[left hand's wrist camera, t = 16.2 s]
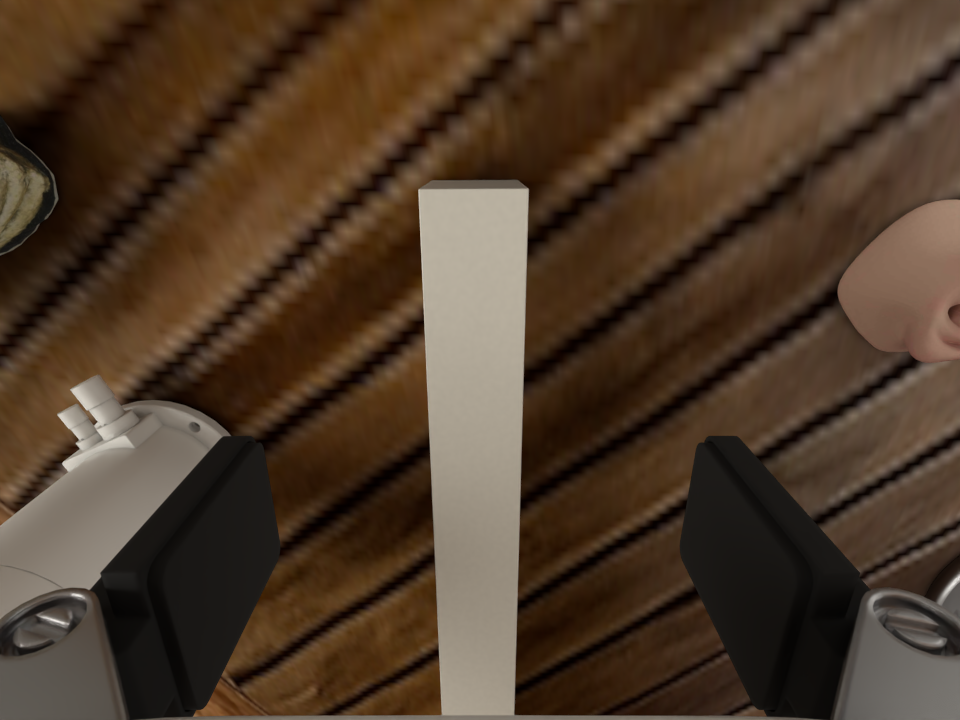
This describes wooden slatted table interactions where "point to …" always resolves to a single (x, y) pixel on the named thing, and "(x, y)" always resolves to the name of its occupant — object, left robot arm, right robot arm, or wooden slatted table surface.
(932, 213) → the anatomical model
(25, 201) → the fossil
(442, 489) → the post
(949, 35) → the wooden slatted table surface
